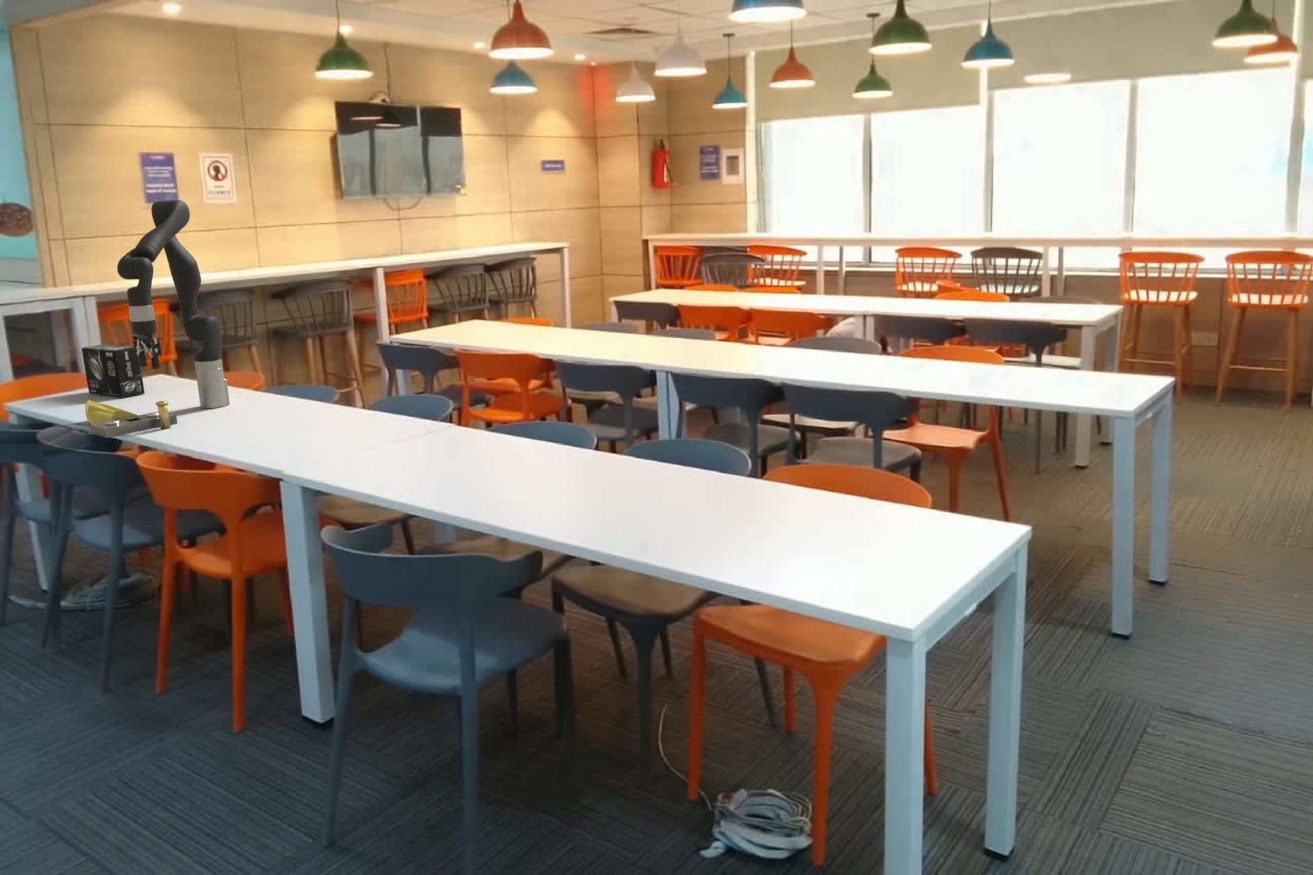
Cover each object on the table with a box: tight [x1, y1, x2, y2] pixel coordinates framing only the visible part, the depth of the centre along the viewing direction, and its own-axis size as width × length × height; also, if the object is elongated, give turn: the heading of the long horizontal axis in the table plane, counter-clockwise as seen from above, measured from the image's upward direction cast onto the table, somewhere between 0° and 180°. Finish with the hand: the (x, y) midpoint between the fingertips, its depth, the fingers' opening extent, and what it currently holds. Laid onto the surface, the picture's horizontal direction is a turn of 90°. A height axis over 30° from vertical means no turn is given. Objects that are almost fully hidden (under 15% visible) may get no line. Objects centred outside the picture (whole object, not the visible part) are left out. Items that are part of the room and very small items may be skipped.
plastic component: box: [84, 399, 138, 425], centre depth 365 cm, size 20×7×10 cm
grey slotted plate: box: [89, 411, 178, 439], centre depth 354 cm, size 24×11×4 cm, turn 142°
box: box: [81, 344, 145, 399], centre depth 414 cm, size 23×10×19 cm, turn 58°
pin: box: [155, 400, 171, 430], centre depth 353 cm, size 4×4×9 cm
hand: (149, 367), depth 349 cm, fingers open, 8 cm apart
